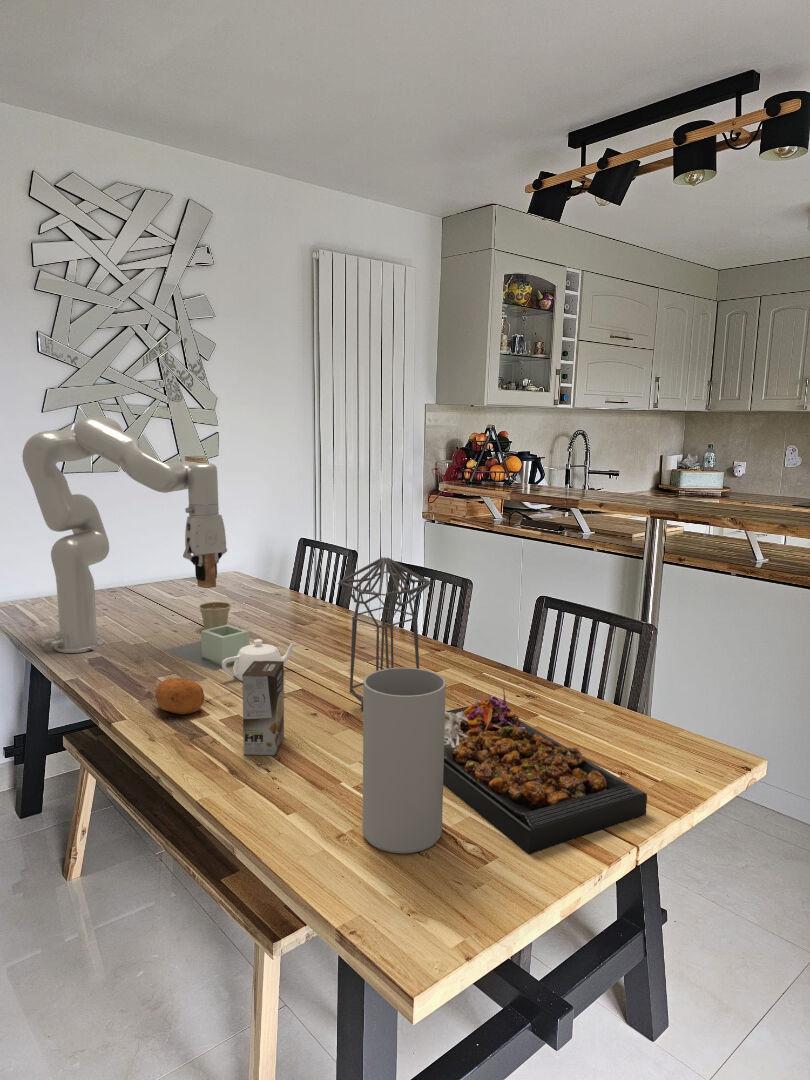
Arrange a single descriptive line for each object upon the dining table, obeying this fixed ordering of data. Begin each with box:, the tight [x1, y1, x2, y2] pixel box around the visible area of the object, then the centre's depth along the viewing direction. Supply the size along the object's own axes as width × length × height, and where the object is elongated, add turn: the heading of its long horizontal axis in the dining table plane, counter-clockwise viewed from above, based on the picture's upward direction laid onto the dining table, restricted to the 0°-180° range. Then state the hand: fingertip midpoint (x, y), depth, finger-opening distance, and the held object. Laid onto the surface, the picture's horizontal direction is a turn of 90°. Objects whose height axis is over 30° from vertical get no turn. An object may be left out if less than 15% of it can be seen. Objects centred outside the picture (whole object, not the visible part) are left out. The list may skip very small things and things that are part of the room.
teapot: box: [222, 638, 297, 682], centre depth 183 cm, size 20×12×10 cm, turn 125°
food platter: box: [443, 686, 648, 856], centre depth 136 cm, size 45×25×10 cm, turn 29°
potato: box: [154, 677, 205, 715], centre depth 163 cm, size 9×11×8 cm
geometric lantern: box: [337, 556, 431, 711], centre depth 163 cm, size 16×16×35 cm
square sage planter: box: [200, 624, 251, 668], centre depth 194 cm, size 8×9×8 cm
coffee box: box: [242, 661, 285, 756], centre depth 146 cm, size 9×6×16 cm
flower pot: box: [198, 601, 232, 630], centre depth 221 cm, size 9×9×9 cm
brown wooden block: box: [196, 553, 217, 590], centre depth 197 cm, size 3×4×10 cm
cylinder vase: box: [361, 667, 447, 855], centre depth 114 cm, size 12×12×25 cm
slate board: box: [163, 640, 233, 672], centre depth 200 cm, size 14×24×1 cm, turn 49°
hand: (206, 578), depth 197 cm, fingers closed on brown wooden block, 3 cm apart
